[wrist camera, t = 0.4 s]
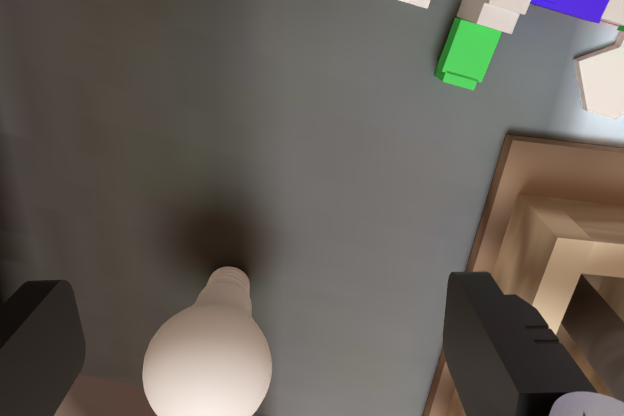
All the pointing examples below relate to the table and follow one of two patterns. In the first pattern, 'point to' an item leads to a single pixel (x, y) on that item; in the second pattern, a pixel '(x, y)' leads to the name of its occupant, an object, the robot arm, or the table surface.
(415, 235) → the table surface
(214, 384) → the lightbulb
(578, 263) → the open wooden box
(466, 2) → the building block set
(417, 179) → the table surface
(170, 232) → the table surface
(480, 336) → the robot arm
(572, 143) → the walnut post stand
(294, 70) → the table surface
